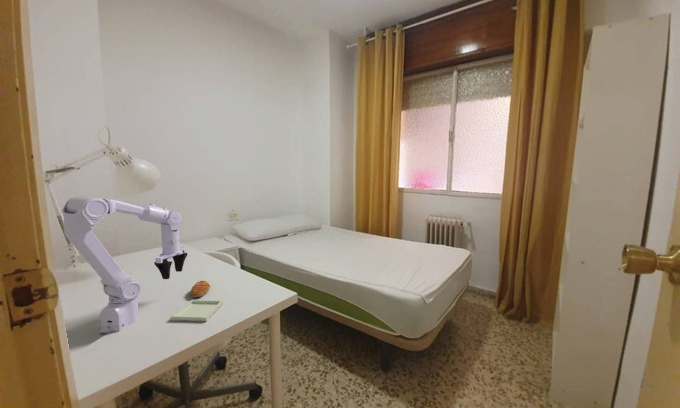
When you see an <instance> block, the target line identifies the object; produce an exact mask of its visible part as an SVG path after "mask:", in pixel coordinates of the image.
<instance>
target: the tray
mask: <svg viewBox="0 0 680 408" xmlns="http://www.w3.org/2000/svg"><path fill="white" fill-rule="evenodd" d="M223 305H224V300H219V299H218V300H216V299H191V300H190V301H189V302H187V303H186V304H185V305H183V306H182V307H181V308H180V309H179V310H177V311H176V312H175V313H174V314H173V315H171V316H170V320H171V322H193V323H194V322H201V323H204V322H205V323H206V322H208V321H209V320H210V319H211V318H212V316H213V315H215V313H217V311H218V310H219V309H220V308H221V307H222V306H223Z"/></svg>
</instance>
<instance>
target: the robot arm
mask: <svg viewBox="0 0 680 408" xmlns="http://www.w3.org/2000/svg"><path fill="white" fill-rule="evenodd" d="M61 213H62V215H63V234H64V236H65V237H66V238H67V240H68V241H69V242H70V243H71V244H72V245H73V247H74V248H75V249H76V250H77V251H78V253H79V254H80V255H82V257H83V258H84V259H85V261H86V263H88V264H89V265H90V267H92V269H93V271H95V273H96V274H97V275H98V276H99V277H100V279H101V280H100V283H101V284H102V287H103V289H102V290H103V292H104V294H105V295H107V296H108V303H107V305H106V306H105V307H103V309H101V311H100V315H99V317H100V327H101V328H100V330H99V333H100V334H101V333H103V334H104V333H105V334H108V333H110V332H121V331H122V330H124V329H125V328H126V329H127V327H129V326H130V325H133V324H134V323H136V322H137V321H138V320H139V318H140V317H139V304H138V297H139V294H140V293H141V290H142V285H141V282H140V281H138V280H136V279H133V278H132V276H131V275H129V274H127V272H125V271H123V270H122V268H121V267H120V266H119V264H118V263H117V262H116V261H115V259H114V258H113V256H111V254H110V253H109V252H108V250H107V249H106V248H105V246H104V245H103V244H102V242H101V241H100V240H99V239H98V237H97V235H95V234H94V230H95V228H96V226H97V225H98V224H99V223H100V222H101V221H102V220H103V219H104V218H105V217H106V216H107V215H112V214H113V213H122V214H128V215H132V216H133V215H134V216H137V218H138V219H139V220H141V221H144V222H149V223H153V224H154V223H155V224H159V225H160V232H161V233H160V234H161V249H162V253H160V254H159V255H157V257H155V261H154V265H155V267H156V268H157V269H158V271H159V273H160V275H161V278H162V279H163V280H169V279H170V276H171V266H172V264H174V270H175V272H180V273H181V272H182V271H183V267H184V264H185V260H186V259H187V257H188V253H187V252H186V246H180V245H181V243H180V224H181V222H182V220H183V217H182V216H181V214H180V213H179V211H177V210H171V209H170V210H169V209H168V207H159V206H156V204H154V203H149V204H144V205H142V206H139V205H135V204H131V203H128V202H125V201H121V200H117V199H111V198H108V199H107V198H101V197H88V196H87V197H86V196H80V195H78V196H73V197H71V198H69V199H68V200H67V201H66V202H65V204H64V206H63V207H62V209H61ZM171 258H172V260H173V261H171V260H170V261H169V259H171ZM173 262H174V263H173Z"/></svg>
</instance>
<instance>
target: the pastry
mask: <svg viewBox="0 0 680 408" xmlns="http://www.w3.org/2000/svg"><path fill="white" fill-rule="evenodd" d="M210 288H211V284H209V282H208V281H207V280H200V281H197V282H196V283H195V284H193V286H192V287H191V289H190V294H191V295H190V296H191V297H192V298H200V297H203V296H205V295H207V294H208V292H209V291H210V290H211V289H210Z"/></svg>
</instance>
